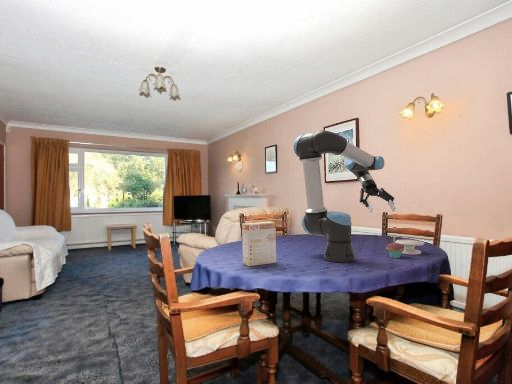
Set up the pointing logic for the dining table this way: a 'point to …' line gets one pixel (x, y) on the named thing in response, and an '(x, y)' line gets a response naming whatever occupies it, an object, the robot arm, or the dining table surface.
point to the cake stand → (410, 246)
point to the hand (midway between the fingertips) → (382, 210)
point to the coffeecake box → (259, 243)
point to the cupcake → (395, 249)
